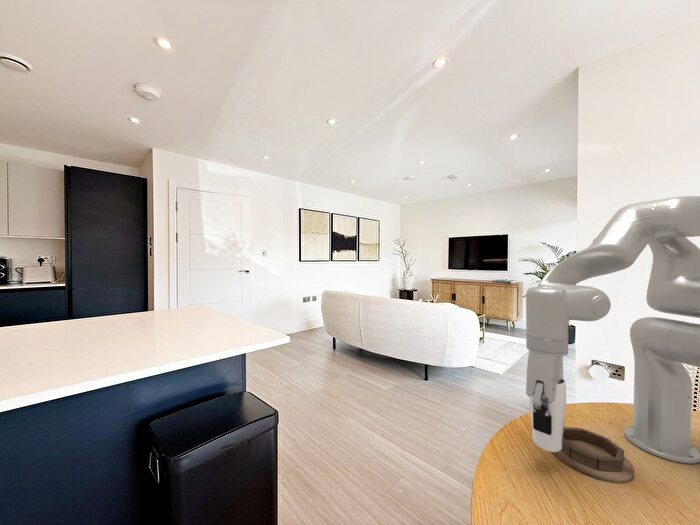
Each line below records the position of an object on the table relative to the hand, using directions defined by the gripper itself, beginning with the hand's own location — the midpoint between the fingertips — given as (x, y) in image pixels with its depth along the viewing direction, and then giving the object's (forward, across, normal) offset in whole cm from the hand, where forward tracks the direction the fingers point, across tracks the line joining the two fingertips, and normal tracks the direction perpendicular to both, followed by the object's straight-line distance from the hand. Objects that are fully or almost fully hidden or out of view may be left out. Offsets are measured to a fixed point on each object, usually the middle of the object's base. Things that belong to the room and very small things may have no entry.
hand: (546, 424), depth 62 cm
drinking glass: (+5, 0, 0) cm, 5 cm away
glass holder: (+10, -11, +6) cm, 16 cm away
